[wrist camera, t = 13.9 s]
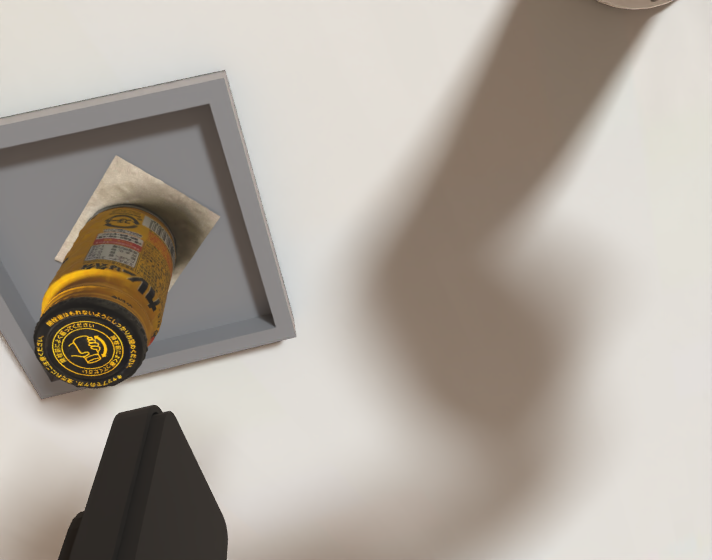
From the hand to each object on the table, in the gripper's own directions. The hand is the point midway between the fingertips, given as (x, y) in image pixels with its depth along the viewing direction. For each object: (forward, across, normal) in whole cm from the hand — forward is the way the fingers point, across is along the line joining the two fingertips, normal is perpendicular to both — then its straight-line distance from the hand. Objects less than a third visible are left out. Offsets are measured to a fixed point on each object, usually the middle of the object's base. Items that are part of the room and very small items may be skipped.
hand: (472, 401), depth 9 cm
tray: (+30, +15, +8) cm, 35 cm away
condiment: (+30, +14, +8) cm, 34 cm away
